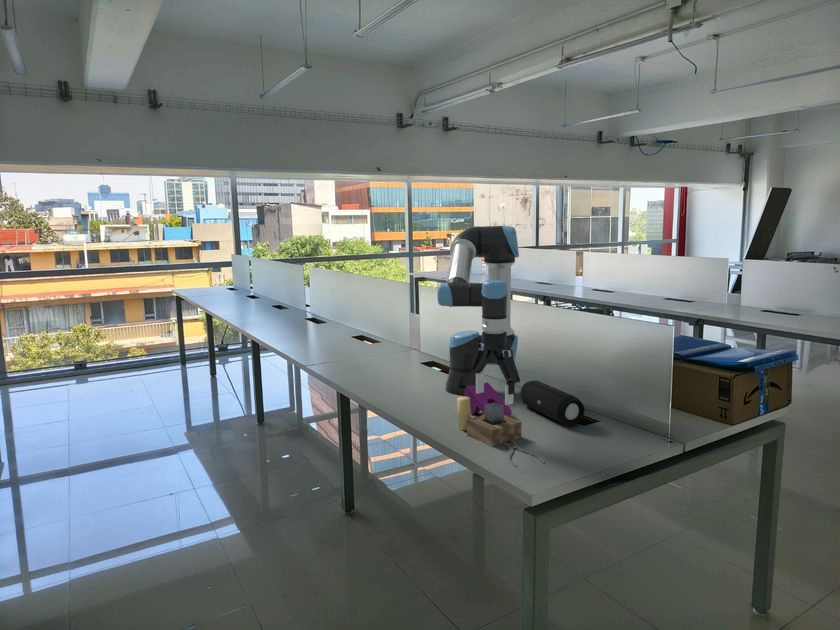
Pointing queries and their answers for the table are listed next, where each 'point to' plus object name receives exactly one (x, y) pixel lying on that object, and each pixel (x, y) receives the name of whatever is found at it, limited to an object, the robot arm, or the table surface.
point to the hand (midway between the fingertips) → (494, 398)
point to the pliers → (515, 446)
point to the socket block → (494, 430)
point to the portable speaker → (552, 402)
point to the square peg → (494, 413)
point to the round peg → (463, 411)
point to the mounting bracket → (484, 399)
